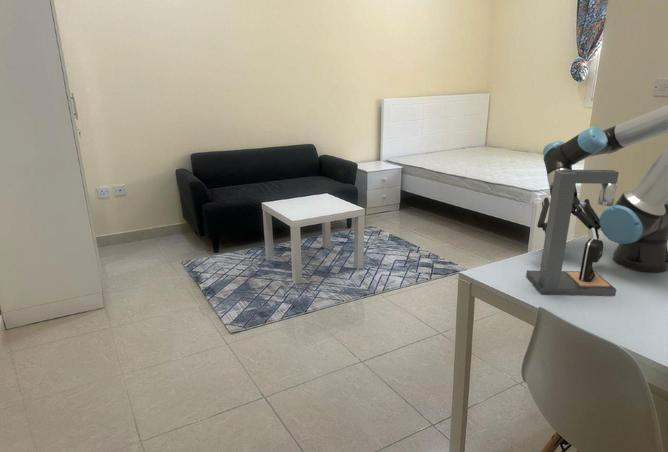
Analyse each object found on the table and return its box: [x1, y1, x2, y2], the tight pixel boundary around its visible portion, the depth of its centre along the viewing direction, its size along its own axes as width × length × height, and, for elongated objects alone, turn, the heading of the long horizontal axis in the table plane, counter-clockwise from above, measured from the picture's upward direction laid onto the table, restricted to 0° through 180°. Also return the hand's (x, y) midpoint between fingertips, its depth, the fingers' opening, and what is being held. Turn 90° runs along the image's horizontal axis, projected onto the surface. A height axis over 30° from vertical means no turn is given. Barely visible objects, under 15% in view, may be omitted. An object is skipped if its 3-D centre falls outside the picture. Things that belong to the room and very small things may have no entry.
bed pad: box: [567, 271, 610, 287], centre depth 131 cm, size 8×9×1 cm
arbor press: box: [525, 169, 620, 297], centre depth 127 cm, size 20×12×34 cm, turn 87°
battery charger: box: [579, 238, 604, 282], centre depth 129 cm, size 7×4×11 cm, turn 140°
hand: (574, 248), depth 137 cm, fingers open, 11 cm apart
